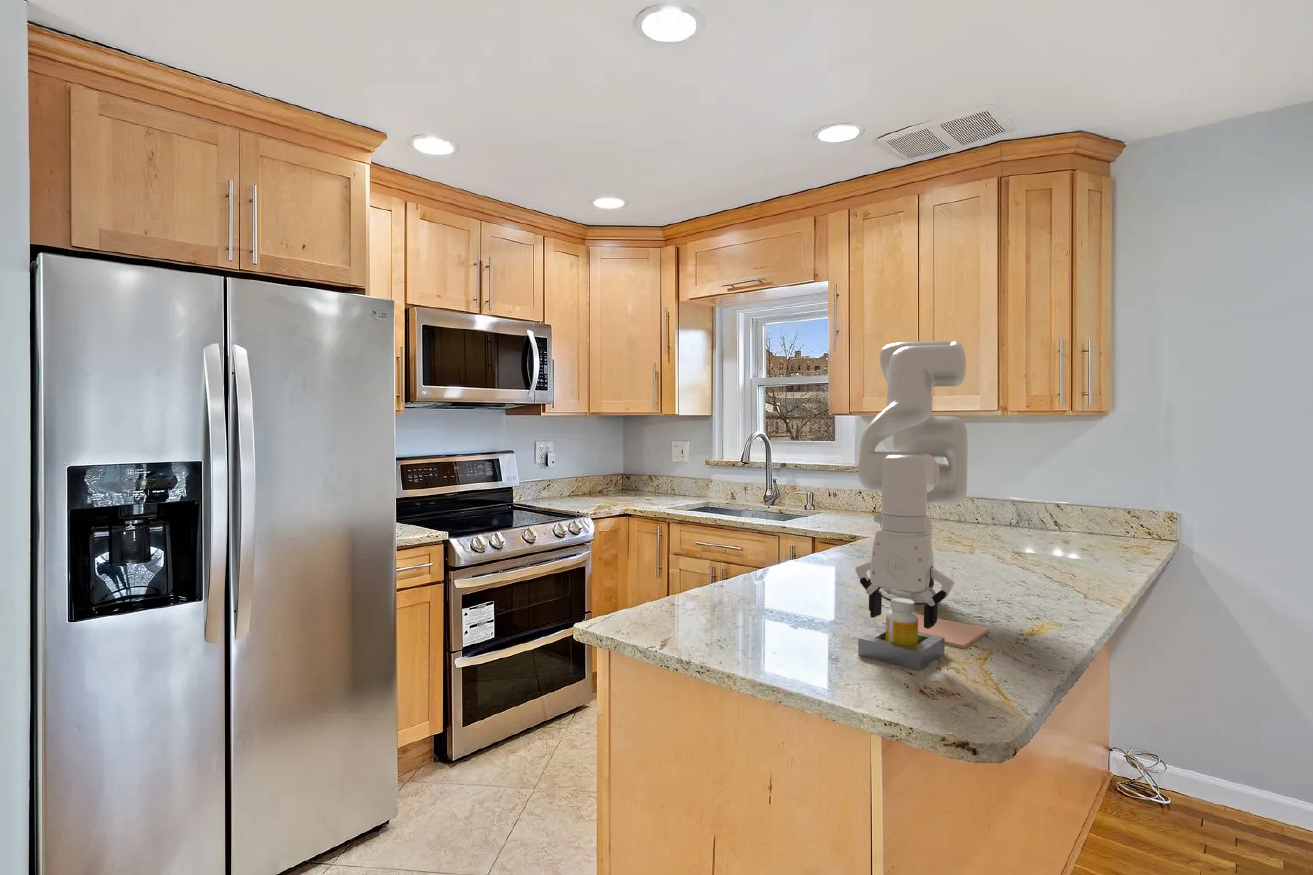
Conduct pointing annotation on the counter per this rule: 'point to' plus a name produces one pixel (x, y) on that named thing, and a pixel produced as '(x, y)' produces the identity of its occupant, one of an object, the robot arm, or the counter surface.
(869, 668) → the counter surface
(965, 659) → the counter surface
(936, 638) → the collar
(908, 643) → the supplement bottle
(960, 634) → the tile
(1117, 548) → the counter surface
